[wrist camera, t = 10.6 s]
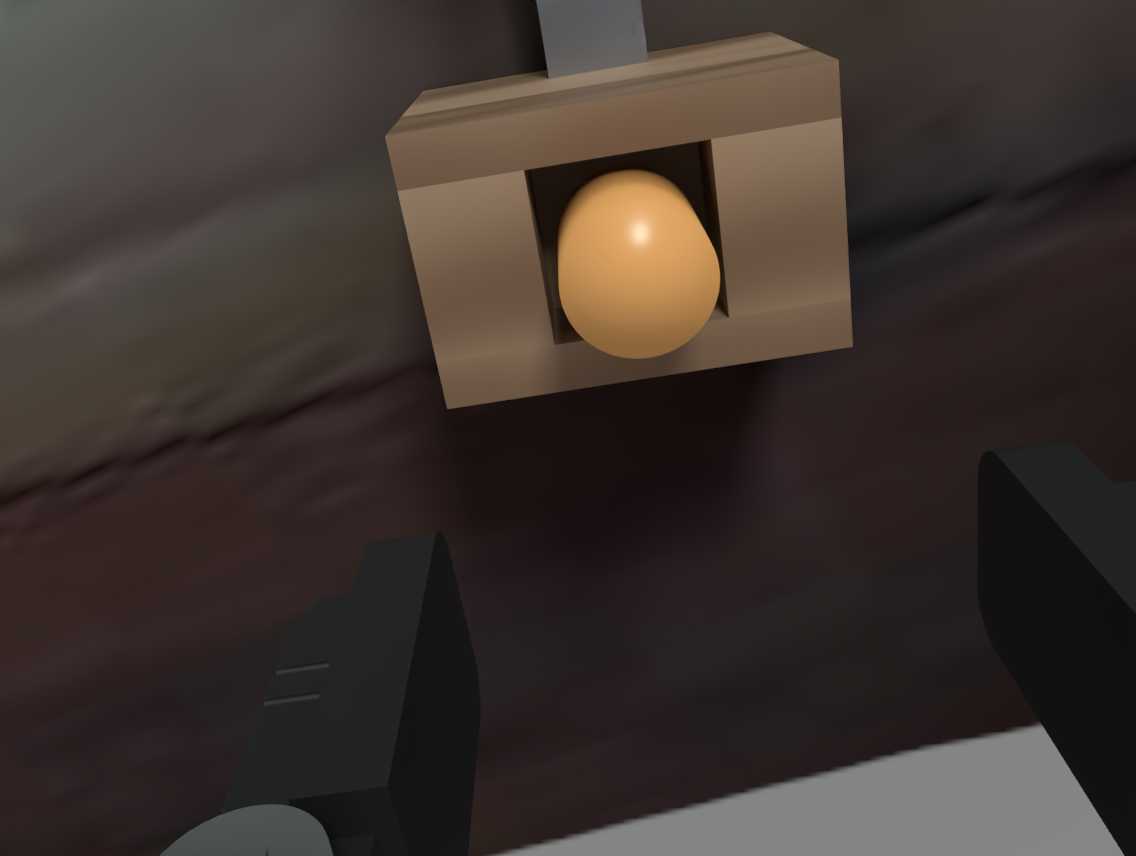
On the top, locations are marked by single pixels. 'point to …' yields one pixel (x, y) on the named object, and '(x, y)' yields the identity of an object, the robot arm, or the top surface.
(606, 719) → the top surface
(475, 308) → the stand
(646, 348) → the button
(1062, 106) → the top surface
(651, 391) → the top surface
